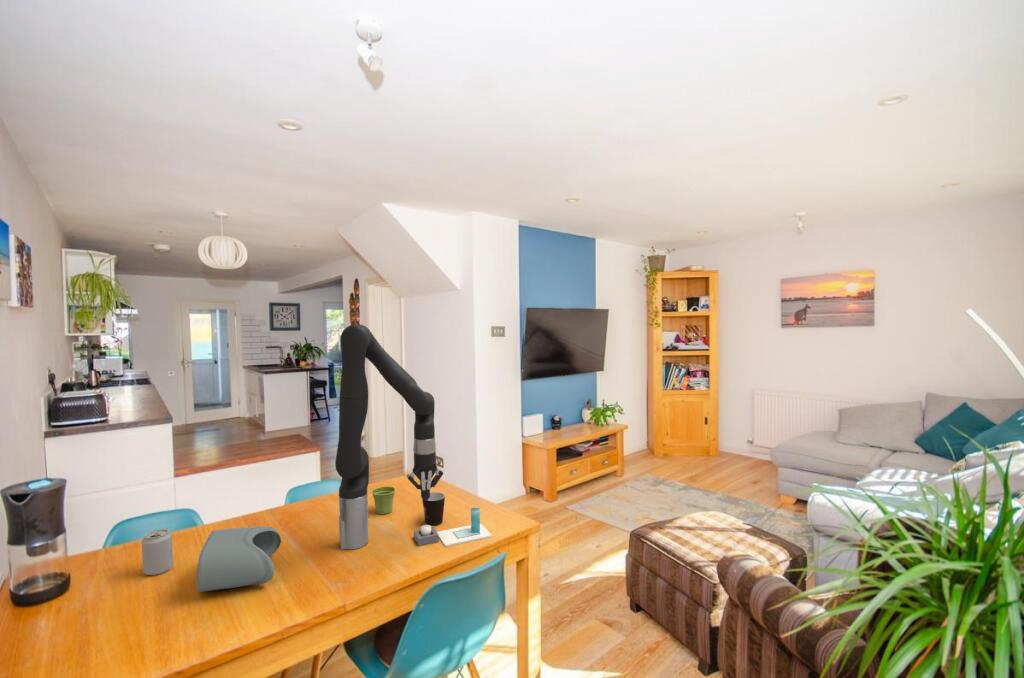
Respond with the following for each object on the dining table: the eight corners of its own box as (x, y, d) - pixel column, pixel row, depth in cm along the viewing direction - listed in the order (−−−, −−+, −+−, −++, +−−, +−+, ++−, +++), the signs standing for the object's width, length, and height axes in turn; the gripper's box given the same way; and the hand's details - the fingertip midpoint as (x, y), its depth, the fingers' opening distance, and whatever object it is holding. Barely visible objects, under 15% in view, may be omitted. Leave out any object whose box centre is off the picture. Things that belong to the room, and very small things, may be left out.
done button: (422, 538, 164) (422, 530, 164) (419, 534, 167) (419, 526, 167) (432, 536, 166) (432, 528, 166) (429, 532, 169) (429, 524, 169)
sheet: (445, 547, 161) (445, 545, 161) (436, 533, 171) (436, 531, 171) (491, 536, 168) (491, 535, 168) (480, 524, 178) (480, 522, 178)
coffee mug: (443, 527, 176) (443, 500, 176) (420, 527, 177) (419, 500, 176) (448, 514, 188) (447, 489, 188) (426, 514, 188) (426, 489, 188)
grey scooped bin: (214, 564, 151) (215, 524, 150) (280, 555, 158) (281, 517, 157) (195, 603, 130) (196, 556, 130) (273, 591, 137) (274, 547, 137)
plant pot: (367, 514, 188) (366, 493, 187) (380, 505, 197) (379, 485, 196) (388, 517, 185) (387, 495, 185) (400, 508, 194) (400, 487, 194)
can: (138, 578, 143) (136, 539, 142) (149, 566, 150) (148, 528, 150) (167, 575, 145) (165, 536, 144) (177, 562, 152) (175, 525, 152)
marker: (472, 533, 169) (472, 511, 169) (469, 530, 172) (469, 508, 172) (481, 532, 171) (481, 510, 170) (478, 528, 174) (477, 506, 173)
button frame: (418, 546, 162) (418, 538, 162) (413, 537, 168) (413, 530, 168) (438, 541, 165) (438, 534, 165) (433, 533, 171) (433, 526, 171)
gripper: (408, 455, 159) (409, 506, 160) (446, 450, 164) (447, 500, 165) (403, 450, 166) (404, 499, 167) (440, 445, 171) (440, 492, 172)
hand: (425, 499), depth 166 cm, fingers closed
